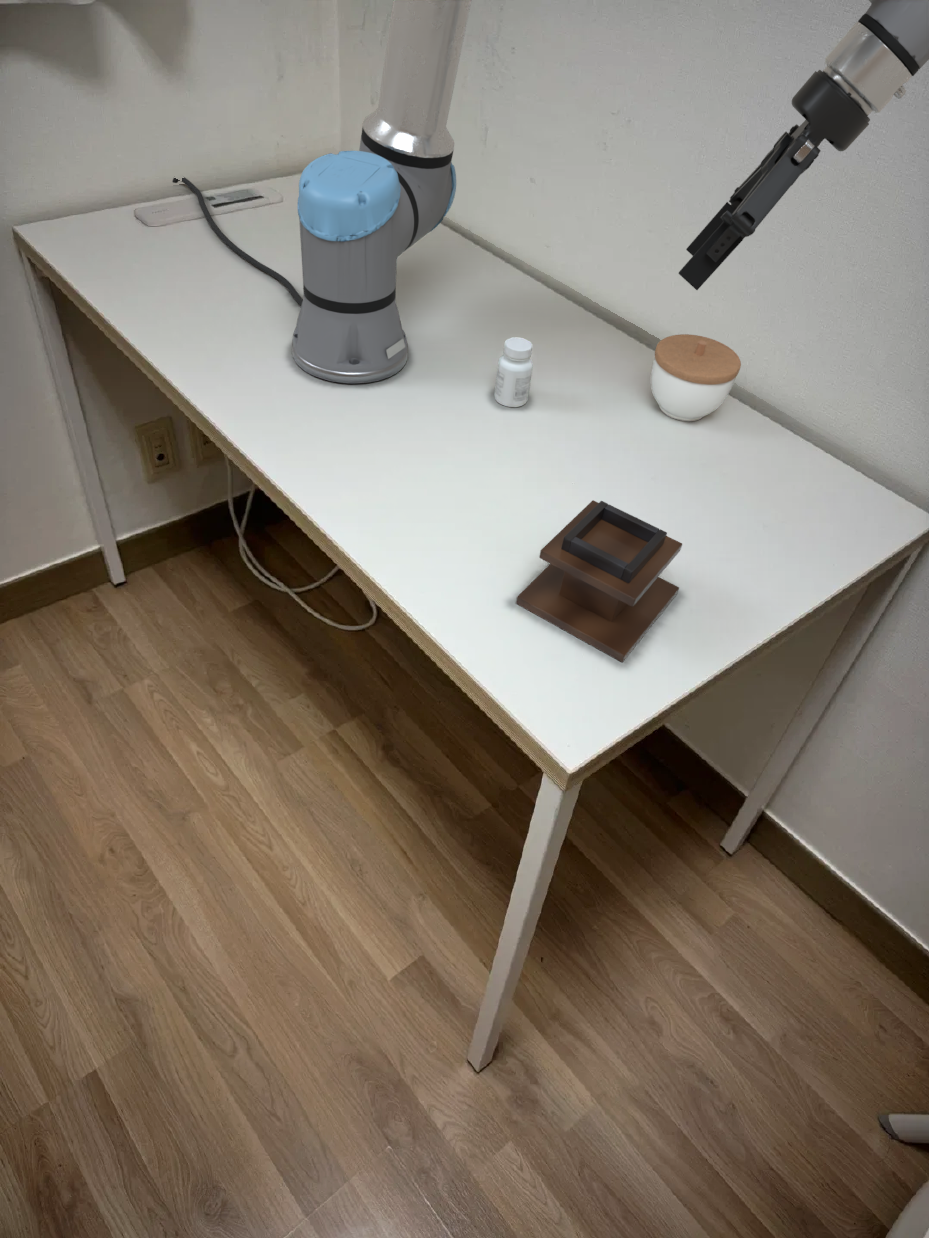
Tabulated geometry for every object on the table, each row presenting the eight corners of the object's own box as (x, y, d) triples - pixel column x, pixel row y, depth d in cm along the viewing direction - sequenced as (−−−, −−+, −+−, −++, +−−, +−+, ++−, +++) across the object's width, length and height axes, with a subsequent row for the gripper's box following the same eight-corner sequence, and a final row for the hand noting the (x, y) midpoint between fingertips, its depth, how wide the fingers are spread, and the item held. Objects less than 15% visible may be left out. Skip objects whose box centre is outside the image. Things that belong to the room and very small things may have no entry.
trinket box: (633, 385, 114) (650, 320, 107) (709, 388, 115) (730, 323, 108) (651, 430, 106) (671, 363, 100) (732, 433, 108) (757, 366, 101)
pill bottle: (531, 395, 110) (540, 340, 104) (522, 411, 107) (530, 356, 101) (499, 386, 111) (507, 331, 105) (489, 403, 108) (496, 347, 102)
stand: (515, 603, 83) (527, 538, 77) (576, 543, 90) (592, 478, 84) (622, 662, 79) (644, 598, 72) (677, 594, 86) (701, 530, 80)
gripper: (890, 127, 74) (711, 318, 86) (860, 112, 94) (718, 268, 106) (830, 67, 73) (657, 268, 85) (812, 64, 93) (674, 227, 105)
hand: (691, 268), depth 96 cm, fingers open, 13 cm apart
